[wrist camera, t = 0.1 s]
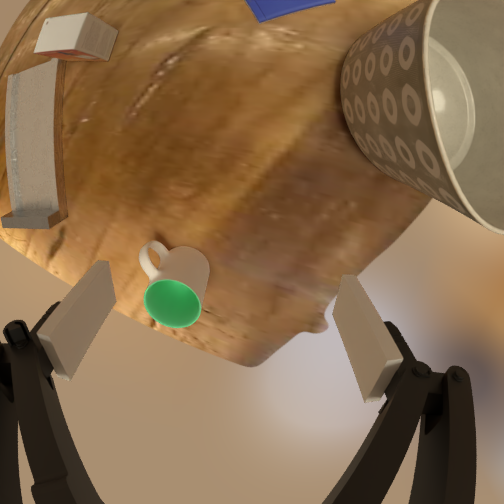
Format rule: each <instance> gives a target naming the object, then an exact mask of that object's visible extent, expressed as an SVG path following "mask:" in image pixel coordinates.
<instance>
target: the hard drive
mask: <svg viewBox="0 0 504 504" xmlns="http://www.w3.org/2000/svg"><path fill="white" fill-rule="evenodd" d="M244 1H245V2H246V4H247V5H248V7H249V9H250V10H251V12H252V13H253V15H254V17H255V18H256V20H257V22H258V23H259V24H262V23H265V22H268V21H271V20H274V19H277V18H280V17H284V16H287V15H290V14H294V13H298V12H301V11H305V10H309V9H313V8H317V7H321V6H326V5H331V4H335V2H336V1H335V0H244Z"/></svg>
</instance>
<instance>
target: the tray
mask: <svg viewBox="0 0 504 504" xmlns="http://www.w3.org/2000/svg"><path fill="white" fill-rule="evenodd" d="M65 67H66V60H62V59H58V58H53V59H52V60H51V61H49V62H46V63H43V64H41V65H38V66H35V67H33V68H30V69H27V70H25V71H23V72H20V73H18V74H12V75H9V76H8V84H7V96H6V115H5V143H6V163H7V176H8V185H9V193H10V201H11V207H12V211H11V212H10V213H8V214H6V215H4V216H3V217H1V221H2V226H3V228H28V229H50V228H52V227H53V226H55V225H56V224H58V223H59V222H61V221H62V220H64V219H65V218H67V217H68V212H67V204H66V196H65V185H64V173H63V155H62V106H63V88H64V77H65Z"/></svg>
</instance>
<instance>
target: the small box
mask: <svg viewBox="0 0 504 504" xmlns="http://www.w3.org/2000/svg"><path fill="white" fill-rule="evenodd" d="M117 34H118V30H116V29H115V28H113V27H112V26H110V25H108V24H107V23H105V22H103V21H102V20H100V19H99V18H97V17H95V16H94V15H92V14H90V13H88V12H86V13H79V14H72V15H65V16H59V17H53V18H46V19H45V22H44V24H43V27H42V30H41V32H40V35H39V38H38V41H37V44H36V47H35V51H34V54H40V55H45V56H49V57H54V58H58V59H62V60H67V61H71V62H72V61H108V60H109V57H110V54H111V51H112V48H113V45H114V42H115V39H116V37H117Z"/></svg>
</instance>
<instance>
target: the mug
mask: <svg viewBox="0 0 504 504" xmlns="http://www.w3.org/2000/svg"><path fill="white" fill-rule="evenodd" d="M148 248H152V249H153V250H155V251H156V252H157V253H158V255H159V256H160V264H159V267H158V268H156V267H155V266H154V265H153V263H152V262H151V260H150V258H149V255H148ZM139 261H140V264H141V266H142V268H143V270H144V271H145V273H146V274H147V275H148V277H149V279H150V282H149V285H148V287H147V289H146V291H145V294H144V305H145V308H146V310H147V312H148V313H149V315H150V316H151V317H152V318H153V319H154V320H156V321H157V322H159V323H160V324H162V325H165V326H168V327H172V328H183V327H187V326H190V325H191V324H193V323H194V322H195V321H196V320H197V319H198V318H199V316H200V313H201V308H202V304H203V300H204V295H205V291H206V287H207V282H208V278H209V274H210V266H209V263H208V260H207V259H206V257H205V256H204V255H203V254H202V253H201V252H200V251H198V250H197V249H195V248H192V247H188V246H179V247H175V248H173V249H171V250H170V251H169V250H168V249H167V248H166V247H165V246H164V245H163V244H161V243H160V242H158V241H150V242H148V243H146V244H145V245H144V246H143V247H142V248H141V250H140V253H139Z"/></svg>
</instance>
